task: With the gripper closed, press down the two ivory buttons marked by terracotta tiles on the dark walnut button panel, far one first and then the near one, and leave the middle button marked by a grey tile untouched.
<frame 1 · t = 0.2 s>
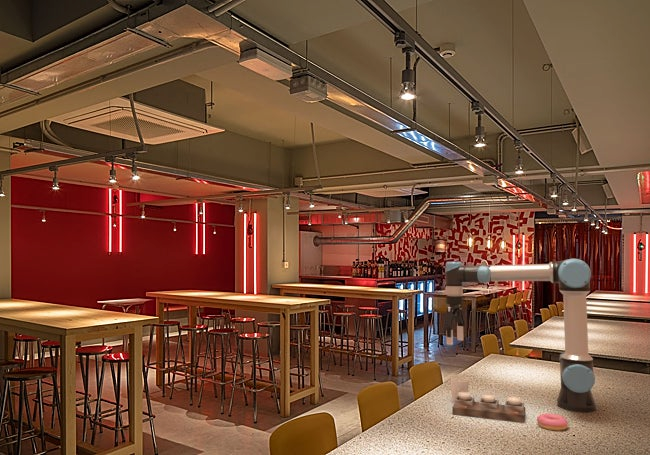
hand: (455, 342, 220), 27 cm above the table, tool pointing down, fingers open, 13 cm apart
button far: (464, 395, 209), point 6 cm above the table, slide at 0.0 cm
panel: (488, 414, 203), on the table
button near: (514, 400, 200), point 6 cm above the table, slide at 0.0 cm
doughnut: (552, 427, 188), on the table
button mid: (488, 398, 205), point 6 cm above the table, slide at 0.0 cm
tan paper cup: (459, 402, 221), on the table
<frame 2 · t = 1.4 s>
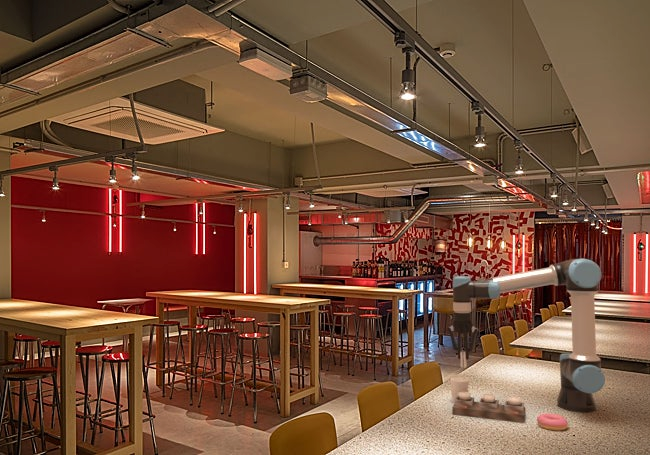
hand: (463, 366, 209), 18 cm above the table, tool pointing down, fingers closed
nothing on the table moved.
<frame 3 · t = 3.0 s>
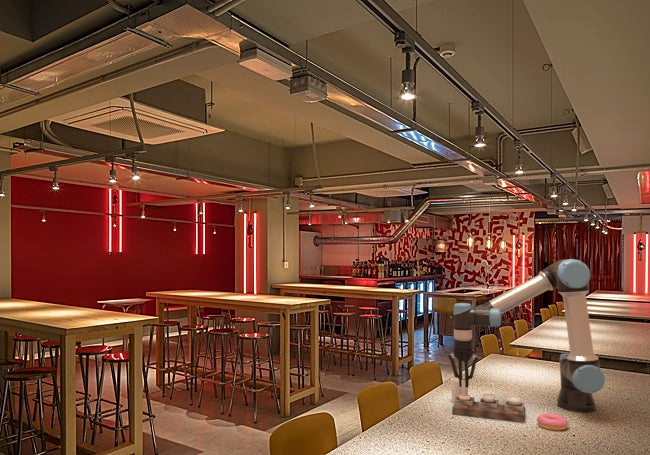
hand: (464, 394, 209), 7 cm above the table, tool pointing down, fingers closed
button far: (464, 397, 209), point 5 cm above the table, slide at 0.9 cm, touching gripper
everything else where it was.
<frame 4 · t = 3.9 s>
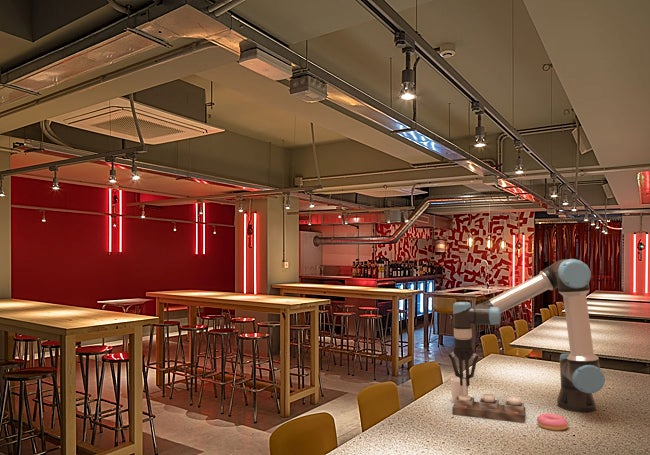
hand: (465, 393, 209), 7 cm above the table, tool pointing down, fingers closed
button far: (464, 399, 208), point 5 cm above the table, slide at 1.5 cm
everything else where it was.
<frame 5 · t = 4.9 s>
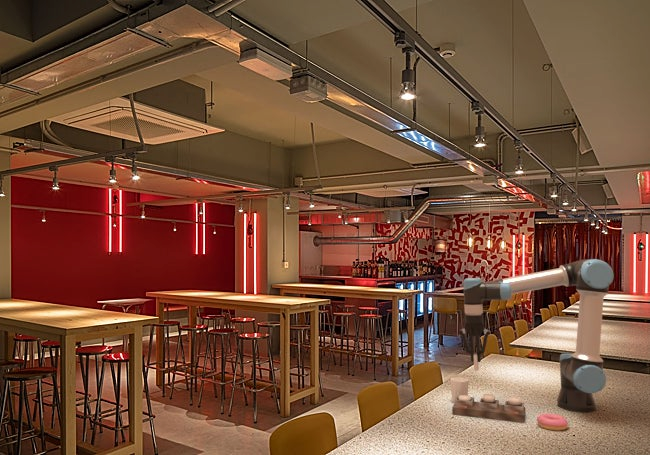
hand: (476, 369, 207), 18 cm above the table, tool pointing down, fingers closed
nothing on the table moved.
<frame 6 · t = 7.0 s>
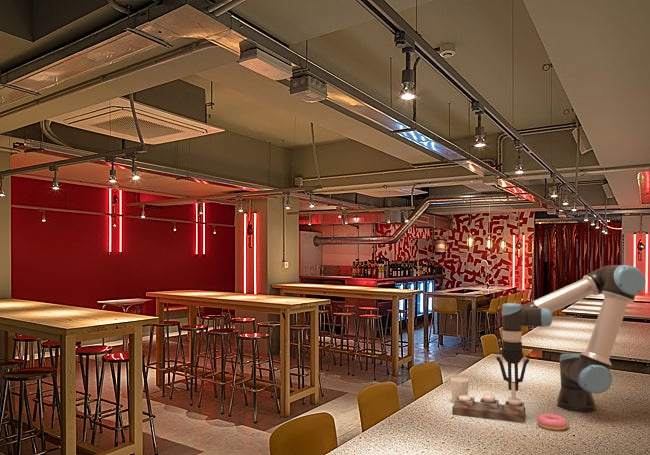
hand: (513, 398, 201), 7 cm above the table, tool pointing down, fingers closed
button near: (514, 401, 200), point 6 cm above the table, slide at 0.3 cm, touching gripper
everything else where it was.
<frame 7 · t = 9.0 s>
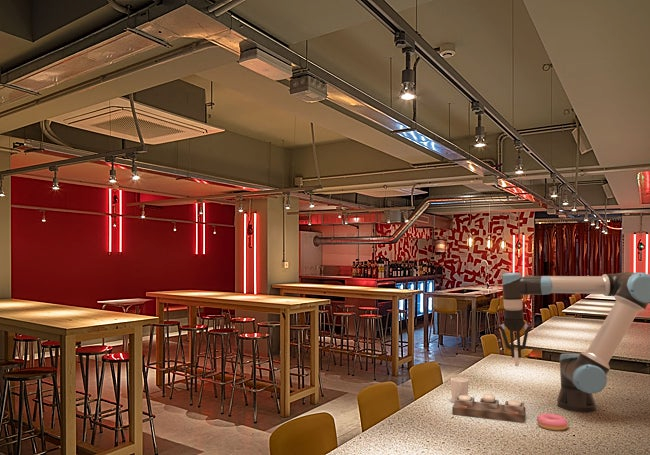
hand: (516, 365, 205), 20 cm above the table, tool pointing down, fingers closed
button near: (514, 404, 200), point 5 cm above the table, slide at 1.5 cm
everything else where it was.
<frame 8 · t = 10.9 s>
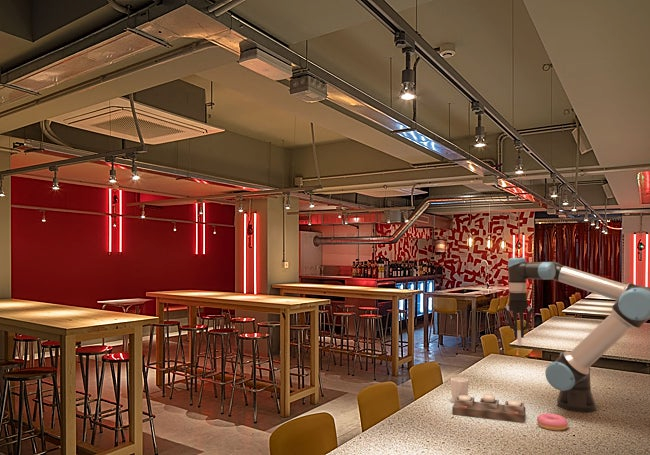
hand: (519, 344, 217), 26 cm above the table, tool pointing down, fingers closed
nothing on the table moved.
at the end: button far slide at 1.5 cm; button near slide at 1.5 cm; button mid slide at 0.0 cm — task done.
